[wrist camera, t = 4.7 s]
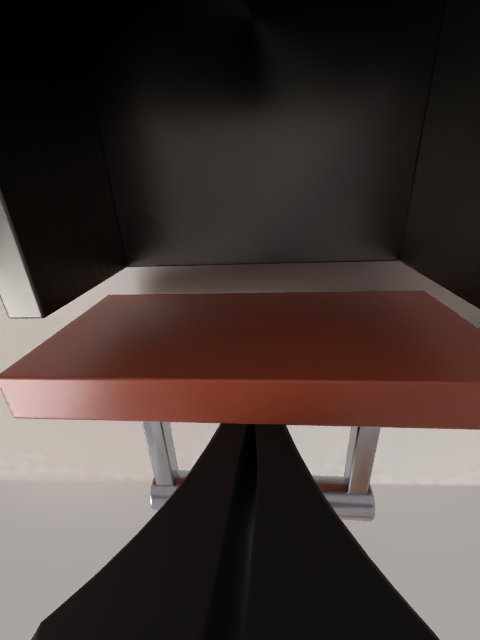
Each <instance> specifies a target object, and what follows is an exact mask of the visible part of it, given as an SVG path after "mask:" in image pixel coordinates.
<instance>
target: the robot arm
mask: <svg viewBox="0 0 480 640" xmlns="http://www.w3.org/2000/svg"><path fill="white" fill-rule="evenodd" d="M31 640H439V638H438V637H437V636H436V635H435V633H434V632H433V631H432V630H431V629H430V628H429V626H428V625H427V624H426V623H425V622H424V621H423V620H422V619H421V618H420V616H418V614H417V613H416V612H415V611H414V610H413V609H412V607H411V606H410V605H409V604H408V603H407V602H406V600H405V599H404V598H403V597H402V596H401V595H400V594H399V592H398V591H397V590H396V589H395V588H394V587H393V586H392V584H391V583H390V582H389V581H388V579H387V578H386V577H385V576H384V575H383V573H382V572H381V571H380V570H379V568H378V567H377V566H376V565H375V564H374V562H373V561H372V560H371V559H370V558H369V556H368V555H367V554H366V552H365V551H364V550H363V548H362V547H361V546H360V544H359V543H358V542H357V540H356V539H355V538H354V536H353V535H352V534H351V533H350V531H349V530H348V529H347V527H346V526H345V525H344V523H343V522H342V521H341V519H340V518H339V516H338V515H337V514H336V512H335V511H334V509H333V508H332V506H331V505H330V503H329V502H328V500H327V499H326V497H325V496H324V494H323V493H322V491H321V490H320V488H319V487H318V485H317V483H316V482H315V480H314V478H313V477H312V475H311V473H310V472H309V470H308V468H307V466H306V465H305V463H304V461H303V459H302V457H301V456H300V454H299V452H298V450H297V448H296V446H295V444H294V442H293V440H292V437H291V435H290V433H289V431H288V429H287V426H286V425H276V424H236V423H221V424H220V425H219V427H218V429H217V430H216V432H215V434H214V435H213V437H212V439H211V440H210V442H209V444H208V445H207V447H206V449H205V450H204V451H203V453H202V454H201V456H200V457H199V459H198V460H197V462H196V463H195V465H194V466H193V468H192V469H191V471H190V472H189V473H188V475H187V476H186V477H185V479H184V480H183V481H182V483H181V484H180V485H179V486H178V488H177V489H176V490H175V491H174V493H173V494H172V495H171V496H170V498H169V499H168V500H167V501H166V502H165V503H164V505H163V506H162V507H161V508H160V509H159V510H158V512H157V513H156V514H155V515H154V516H153V517H152V518H151V520H150V521H149V522H148V523H147V524H146V525H145V526H144V527H143V528H142V529H141V530H140V531H139V532H138V534H137V535H136V536H135V537H134V538H133V539H132V540H131V541H130V542H129V543H128V544H127V545H126V546H125V547H124V548H123V549H122V550H121V551H120V552H119V553H118V554H116V556H115V557H113V559H111V560H110V561H109V562H108V563H107V565H106V566H104V567H103V568H102V569H101V570H100V571H99V572H98V573H97V574H96V575H95V576H94V577H93V578H91V580H89V581H88V582H87V583H86V584H85V585H84V586H83V587H81V588H80V589H79V590H78V591H77V592H76V593H74V594H73V595H72V596H71V597H70V598H69V599H68V600H67V601H65V603H63V604H62V605H61V606H60V607H59V608H58V609H56V610H55V611H54V612H53V613H52V614H51V615H49V616H48V617H47V618H46V619H45V620H43V621H42V622H41V624H40V626H39V627H38V629H37V631H36V633H35V634H34V636H33V638H32V639H31Z"/></svg>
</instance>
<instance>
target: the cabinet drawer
mask: <svg viewBox="0 0 480 640" xmlns="http://www.w3.org/2000/svg"><path fill="white" fill-rule="evenodd" d="M368 261H401V262H402V263H404V264H406V265H407V266H409V267H411V268H412V269H414V270H416V271H417V272H419V273H421V274H422V275H424V276H426V277H427V278H429V279H431V280H432V281H434V282H436V283H437V284H439V285H441V286H442V287H444V288H446V289H447V290H449V291H451V292H452V293H454V294H456V295H457V296H459V297H461V298H462V299H464V300H466V301H467V302H469V303H471V304H472V305H474V306H476V307H477V308H479V309H480V0H0V297H1V300H2V302H3V305H4V307H5V310H6V312H7V315H8V317H9V318H45V317H47V316H48V315H50V314H51V313H53V312H55V311H56V310H58V309H60V308H61V307H63V306H64V305H66V304H68V303H69V302H71V301H72V300H74V299H76V298H77V297H79V296H81V295H82V294H84V293H85V292H87V291H89V290H90V289H92V288H93V287H95V286H97V285H98V284H100V283H102V282H103V281H105V280H106V279H108V278H110V277H111V276H113V275H114V274H116V273H118V272H119V271H121V270H123V269H124V268H126V267H152V266H195V265H238V264H281V263H325V262H368ZM0 389H1V391H2V393H3V396H4V398H5V400H6V402H7V404H8V406H9V408H10V411H11V413H12V415H13V417H15V418H34V419H74V420H115V421H142V425H143V429H144V434H145V438H146V442H147V446H148V451H149V455H150V459H151V463H152V468H153V472H154V479H153V482H152V485H151V491H150V505H151V508H152V509H153V510H159V509H160V508H161V507H162V506H163V505H164V503H165V502H166V501H167V500H168V499H169V498H170V496H171V495H172V494H173V493H174V491H175V490H176V489H177V488H178V486H179V485H180V484H181V483H182V481H183V480H184V479H185V477H186V476H187V475H188V473H189V472H190V471H186V470H178V465H177V460H176V454H175V449H174V443H173V438H172V433H171V427H170V422H196V423H236V424H276V425H317V426H351V431H350V438H349V445H348V452H347V459H346V465H345V472H344V477H338V476H313V475H312V477H313V478H314V480H315V482H316V483H317V485H318V487H319V488H320V490H321V491H322V493H323V494H324V496H325V497H326V499H327V500H328V502H329V503H330V505H331V506H332V508H333V509H334V511H335V512H336V514H337V515H338V516H339V518H340V519H341V520H354V521H372V520H373V519H374V516H375V502H374V496H373V492H372V488H371V485H370V483H369V482H370V477H371V472H372V467H373V462H374V457H375V452H376V447H377V442H378V437H379V432H380V427H397V428H438V429H478V430H480V330H479V329H478V328H477V327H475V326H474V325H472V324H471V323H469V322H468V321H467V320H465V319H464V318H462V317H461V316H459V315H458V314H457V313H455V312H454V311H452V310H451V309H449V308H448V307H447V306H445V305H444V304H442V303H441V302H439V301H438V300H436V299H435V298H434V297H432V296H431V295H429V294H428V293H426V292H425V291H354V292H285V293H216V294H147V295H108V296H107V297H105V298H104V299H102V300H101V301H100V302H98V303H97V304H96V305H94V306H93V307H91V308H90V309H89V310H87V311H86V312H85V313H83V314H82V315H80V316H79V317H78V318H76V319H75V320H74V321H72V322H71V323H69V324H68V325H67V326H65V327H64V328H63V329H61V330H60V331H58V332H57V333H56V334H54V335H53V336H52V337H50V338H49V339H47V340H46V341H45V342H43V343H42V344H41V345H39V346H38V347H36V348H35V349H34V350H32V351H31V352H30V353H28V354H27V355H25V356H24V357H23V358H21V359H20V360H19V361H17V362H16V363H14V364H13V365H12V366H10V367H9V368H8V369H6V370H5V371H3V372H2V373H1V374H0Z"/></svg>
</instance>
